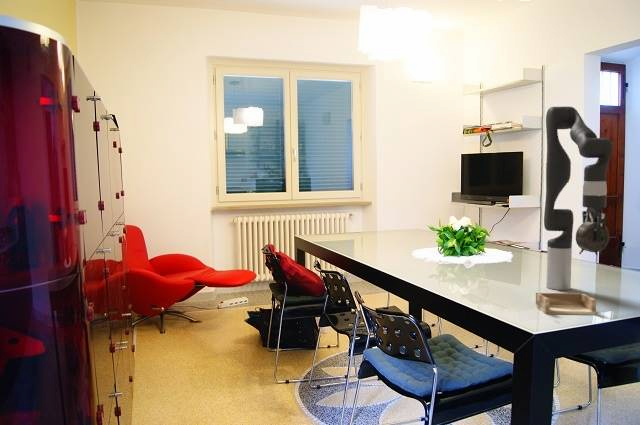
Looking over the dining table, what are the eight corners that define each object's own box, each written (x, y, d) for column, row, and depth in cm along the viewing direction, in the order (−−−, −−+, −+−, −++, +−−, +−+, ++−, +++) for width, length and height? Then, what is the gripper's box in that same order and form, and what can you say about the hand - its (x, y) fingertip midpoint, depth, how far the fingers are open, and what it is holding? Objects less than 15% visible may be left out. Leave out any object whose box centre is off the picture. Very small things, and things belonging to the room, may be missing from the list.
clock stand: (535, 306, 182) (535, 292, 182) (583, 307, 181) (583, 293, 180) (545, 313, 172) (545, 299, 172) (595, 314, 171) (596, 300, 171)
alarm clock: (601, 253, 186) (602, 209, 185) (611, 255, 181) (613, 210, 180) (574, 254, 184) (575, 209, 183) (584, 256, 179) (585, 210, 178)
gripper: (575, 193, 189) (574, 238, 190) (592, 194, 174) (591, 243, 175) (596, 193, 188) (595, 238, 189) (615, 194, 174) (614, 243, 175)
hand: (593, 240), depth 182 cm, fingers closed on alarm clock, 5 cm apart
